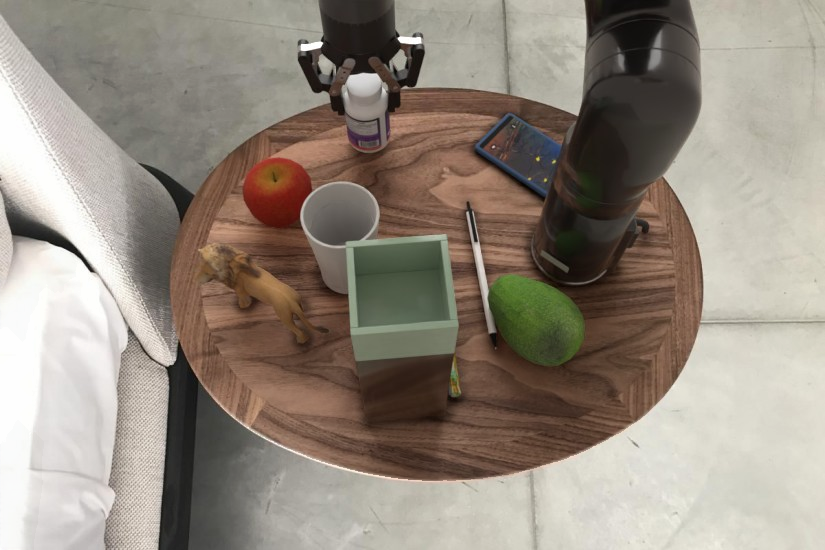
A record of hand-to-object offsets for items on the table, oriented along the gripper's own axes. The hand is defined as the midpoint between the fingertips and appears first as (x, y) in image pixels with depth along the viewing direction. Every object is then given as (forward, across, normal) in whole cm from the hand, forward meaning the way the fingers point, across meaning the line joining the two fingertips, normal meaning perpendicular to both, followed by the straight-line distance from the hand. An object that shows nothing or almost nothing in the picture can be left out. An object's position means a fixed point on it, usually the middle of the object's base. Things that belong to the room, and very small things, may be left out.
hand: (366, 108), depth 85 cm
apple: (+7, -11, -9) cm, 16 cm away
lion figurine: (+7, -13, -22) cm, 27 cm away
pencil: (+7, +7, -25) cm, 27 cm away
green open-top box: (+7, +2, -32) cm, 33 cm away
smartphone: (+7, +15, +1) cm, 17 cm away
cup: (+7, -3, -18) cm, 20 cm away
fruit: (+2, +20, -32) cm, 38 cm away
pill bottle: (+6, 0, 0) cm, 6 cm away
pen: (+7, +12, -20) cm, 24 cm away
